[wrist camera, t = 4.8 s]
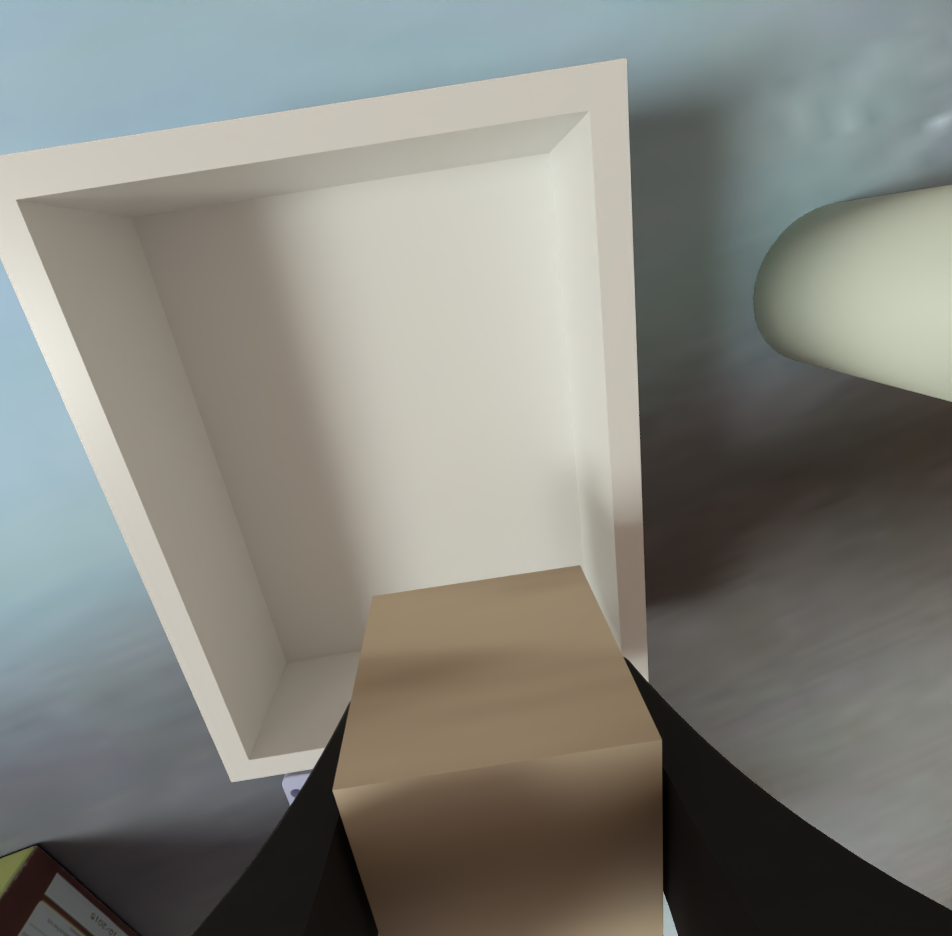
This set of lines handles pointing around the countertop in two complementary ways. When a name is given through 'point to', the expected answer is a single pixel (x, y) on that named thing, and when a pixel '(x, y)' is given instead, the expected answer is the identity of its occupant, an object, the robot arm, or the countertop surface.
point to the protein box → (50, 900)
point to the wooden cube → (502, 765)
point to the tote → (346, 370)
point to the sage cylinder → (866, 290)
